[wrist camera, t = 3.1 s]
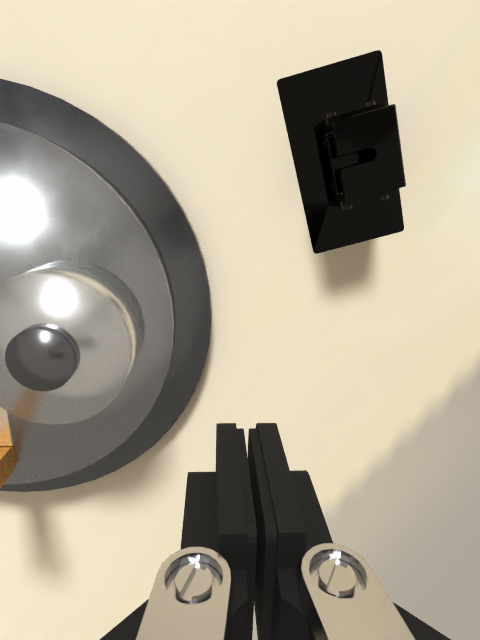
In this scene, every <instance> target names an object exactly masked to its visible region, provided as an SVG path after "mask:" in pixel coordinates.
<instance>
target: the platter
mask: <svg viewBox="0 0 480 640" xmlns="http://www.w3.org/2000/svg"><path fill="white" fill-rule="evenodd" d="M60 260H82V261H86V262H91V263H94V264H96V265H99V266H101V267H103V268H105V269H107V270H109V271H111V272H112V273H114V274H115V275H117V276H118V277H119V278H120V279H121V280H123V281H124V283H125V284H126V285H127V286H128V287H129V288H130V289H131V291H132V292H133V293H134V295H135V297H136V299H137V300H138V302H139V305H140V307H141V310H142V313H143V317H144V325H145V332H144V340H143V344H142V347H141V350H140V352H139V354H138V356H137V358H136V360H135V362H134V364H133V366H132V368H131V370H130V372H129V374H128V376H127V378H126V380H125V382H124V384H123V386H122V388H121V390H120V392H119V393H118V395H117V396H116V398H115V399H114V400H113V401H112V402H111V403H110V404H109V405H108V406H107V407H106V408H104V409H103V410H102V411H100V412H99V413H97V414H95V415H94V416H92V417H89V418H87V419H85V420H82V421H78V422H75V423H69V424H58V425H54V424H42V423H36V422H32V421H29V420H25V419H23V418H20V417H18V416H15V415H13V414H12V413H10V412H8V411H6V410H4V409H3V408H1V407H0V488H1V487H2V486H3V485H10V484H26V483H34V482H39V481H45V480H51V479H54V478H57V477H61V476H64V475H68V474H71V473H73V472H76V471H78V470H80V469H82V468H85V467H87V466H89V465H91V464H93V463H95V462H96V461H98V460H100V459H101V458H103V457H105V456H107V455H108V454H109V453H111V452H112V451H113V450H115V449H116V448H117V447H118V446H120V445H121V444H122V443H123V442H125V441H126V440H127V439H128V437H129V436H130V435H131V434H132V433H133V432H134V431H135V430H136V429H137V428H138V427H139V426H140V424H141V423H142V422H143V420H144V419H145V417H146V416H147V415H148V413H149V412H150V411H151V409H152V407H153V405H154V403H155V401H156V399H157V397H158V395H159V394H160V392H161V389H162V386H163V383H164V380H165V377H166V375H167V372H168V368H169V365H170V361H171V356H172V351H173V346H174V341H175V325H176V315H175V303H174V295H173V290H172V286H171V281H170V277H169V273H168V270H167V267H166V265H165V262H164V259H163V256H162V254H161V251H160V249H159V247H158V245H157V243H156V241H155V239H154V237H153V235H152V233H151V232H150V230H149V228H148V226H147V225H146V224H145V222H144V221H143V219H142V218H141V216H140V215H139V213H138V212H137V210H136V209H135V207H134V206H133V205H132V204H131V203H130V202H129V201H128V199H127V198H126V197H125V196H124V195H123V194H122V193H121V191H120V190H119V189H118V188H117V187H116V186H115V185H114V184H113V183H112V182H111V181H109V180H108V179H107V178H106V177H105V176H104V175H103V174H102V173H100V172H99V171H98V170H97V169H96V168H95V167H93V166H92V165H90V164H89V163H87V162H86V161H85V160H83V159H82V158H80V157H79V156H77V155H76V154H75V153H73V152H71V151H70V150H68V149H66V148H64V147H62V146H60V145H58V144H56V143H55V142H53V141H51V140H49V139H47V138H44V137H42V136H39V135H36V134H34V133H31V132H29V131H26V130H23V129H21V128H18V127H15V126H12V125H9V124H6V123H2V122H0V283H1V282H3V281H5V280H8V279H10V278H12V277H15V276H17V275H20V274H22V273H25V272H27V271H30V270H32V269H35V268H37V267H40V266H42V265H45V264H47V263H51V262H54V261H60Z"/></svg>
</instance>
